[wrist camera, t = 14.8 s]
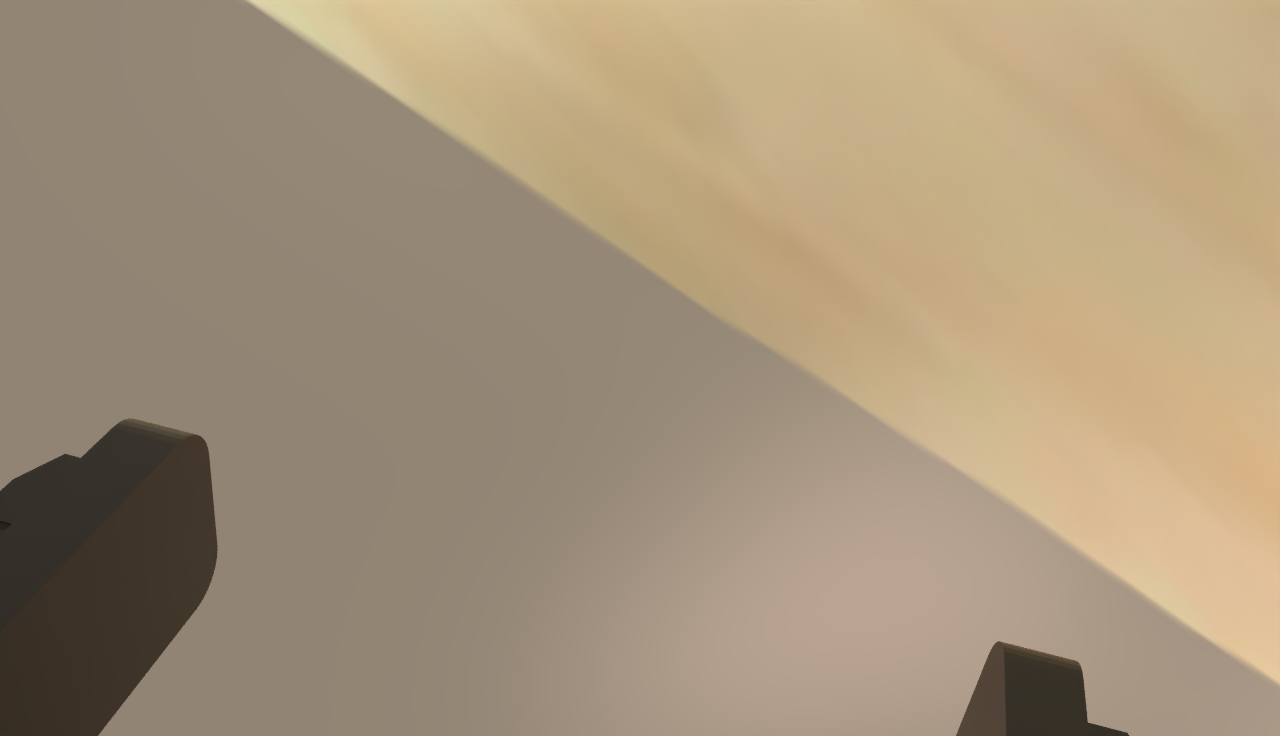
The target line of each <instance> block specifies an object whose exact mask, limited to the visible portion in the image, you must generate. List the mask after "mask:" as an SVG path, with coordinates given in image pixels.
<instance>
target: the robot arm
mask: <svg viewBox="0 0 1280 736" xmlns="http://www.w3.org/2000/svg"><path fill="white" fill-rule="evenodd" d="M216 537H217V536H216V527H215V516H214V505H213V493H212V482H211V471H210V460H209V452H208V447H207V444H206V442H205V440H204V439H203V438H202V437H201V436H198V435H195V434H191V433H187V432H183V431H179V430H175V429H172V428H168V427H164V426H160V425H156V424H152V423H148V422H144V421H140V420H136V419H126V420H123V421H121V422H119V423H118V424H117V425H116V426H114V427H113V428H112V429H111V430H110V431H109V432H108V433H107V434H106V435H105V436H103V438H101V439H100V440H99V441H98V442H97V443H96V444H95V445H94V446H93V447H92V448H91V449H90V450H89V451H88V452H87V453H86V454H85V455H83V456H82V457H81V458H79V457H75V456H71V455H67V454H64V455H62V456H60V457H58V458H56V459H54V460H52V461H50V462H48V463H46V464H43V465H42V466H39V467H37V468H35V469H33V470H31V471H29V472H27V473H25V474H23V475H21V476H19V477H17V478H15V479H13V480H12V481H11V482H10V483H9V484H7V486H5V487H4V488H3V489H2V490H1V491H0V736H98V735H99V734H100V732H101V731H102V730H103V728H104V727H105V726H106V725H107V723H108V722H109V721H110V719H111V718H112V717H113V716H114V714H115V713H116V712H117V710H118V709H119V708H120V706H121V705H122V704H123V703H124V701H125V700H126V699H127V698H128V696H129V695H130V694H131V692H132V691H133V690H134V688H135V687H136V686H137V685H138V683H139V682H140V681H141V680H142V678H143V677H144V676H145V674H146V673H147V672H148V671H149V669H150V668H151V667H152V665H153V664H154V663H155V662H156V660H157V659H158V658H159V656H160V655H161V654H162V653H163V651H164V650H165V649H166V647H167V646H168V645H169V644H170V642H171V641H172V640H173V638H174V637H175V636H176V635H177V633H178V632H179V631H180V629H181V628H182V627H183V625H184V624H185V623H186V621H187V620H188V619H189V618H190V617H191V615H192V614H193V613H194V611H195V610H196V609H197V607H198V606H199V604H200V603H201V601H202V600H203V598H204V596H205V594H206V592H207V590H208V588H209V585H210V582H211V579H212V576H213V574H214V570H215V565H216V559H217V538H216ZM956 736H1129V735H1128V733H1126V732H1122V731H1118V730H1114V729H1110V728H1106V727H1103V726H1099V725H1095V724H1091V723H1088V721H1087V710H1086V700H1085V691H1084V680H1083V673H1082V669H1081V666H1080V664H1079V663H1078V662H1077V661H1075V660H1070V659H1066V658H1063V657H1059V656H1055V655H1051V654H1047V653H1043V652H1039V651H1035V650H1031V649H1027V648H1023V647H1020V646H1015V645H1012V644H1008V643H1004V642H997V643H995V645H994V646H993V647H992V649H991V651H990V653H989V655H988V658H987V660H986V663H985V665H984V668H983V670H982V673H981V675H980V678H979V680H978V683H977V685H976V688H975V690H974V693H973V695H972V698H971V700H970V703H969V705H968V708H967V710H966V712H965V715H964V717H963V720H962V722H961V725H960V727H959V730H958V733H957V735H956Z"/></svg>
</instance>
